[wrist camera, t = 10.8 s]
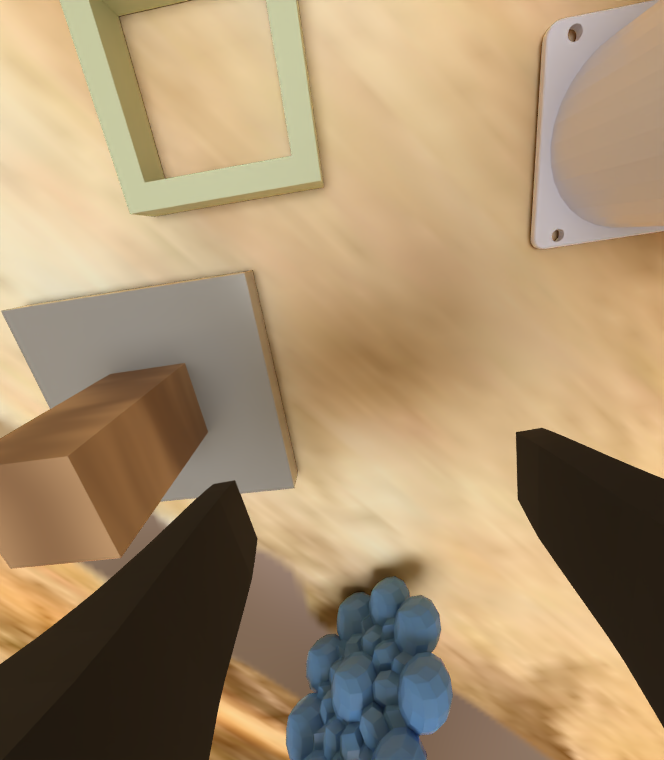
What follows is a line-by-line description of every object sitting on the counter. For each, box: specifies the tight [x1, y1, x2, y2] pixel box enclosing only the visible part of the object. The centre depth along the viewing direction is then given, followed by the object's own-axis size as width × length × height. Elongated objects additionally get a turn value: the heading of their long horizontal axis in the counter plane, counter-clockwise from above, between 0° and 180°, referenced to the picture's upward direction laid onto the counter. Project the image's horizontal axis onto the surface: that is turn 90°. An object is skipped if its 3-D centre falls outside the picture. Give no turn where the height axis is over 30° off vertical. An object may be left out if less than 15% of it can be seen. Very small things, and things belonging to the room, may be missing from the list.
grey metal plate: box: [1, 270, 298, 502], centre depth 19 cm, size 12×12×2 cm
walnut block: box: [0, 363, 208, 569], centre depth 15 cm, size 4×4×8 cm
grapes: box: [286, 576, 453, 760], centre depth 20 cm, size 12×7×12 cm, turn 133°
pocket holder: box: [60, 0, 324, 217], centre depth 14 cm, size 8×8×2 cm
